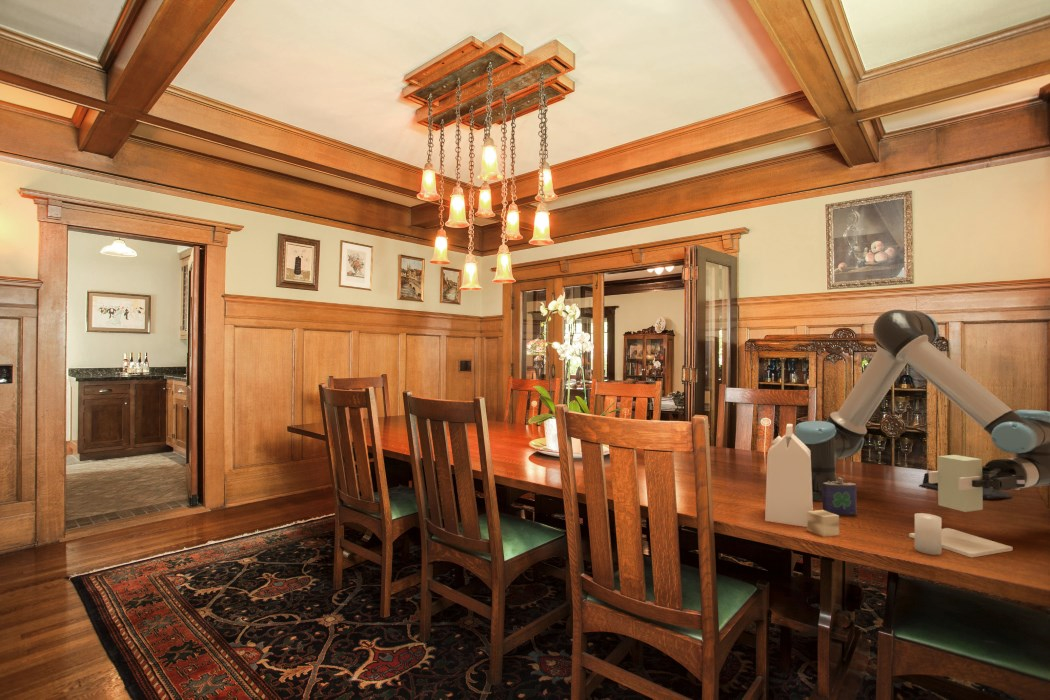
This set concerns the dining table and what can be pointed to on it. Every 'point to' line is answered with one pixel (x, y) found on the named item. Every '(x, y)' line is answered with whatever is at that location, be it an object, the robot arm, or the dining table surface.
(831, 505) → the flask
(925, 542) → the white cylinder
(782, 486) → the milk
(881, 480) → the dining table surface
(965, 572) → the dining table surface
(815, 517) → the maple cube
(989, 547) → the white tile
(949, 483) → the sage block
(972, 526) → the dining table surface
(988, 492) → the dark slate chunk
